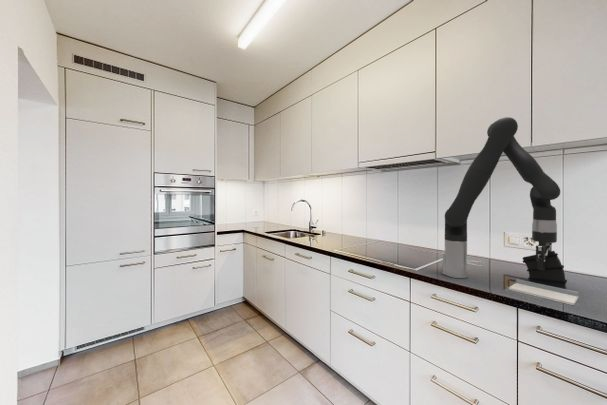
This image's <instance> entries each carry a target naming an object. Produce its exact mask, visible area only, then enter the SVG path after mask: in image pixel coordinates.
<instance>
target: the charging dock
mask: <svg viewBox="0 0 607 405" xmlns="http://www.w3.org/2000/svg"><path fill="white" fill-rule="evenodd" d="M508 290H509V291H512V292H515V293H516V292H517V293H521V294H526V295H528V296H529V295H530V296H533V297H534V296H535V297H538V298H541V299H546V300H549V301H554V302H558V303H563V304H567V305H570V306H575V304H576V303H577V301H578V300H579V295H580V294H579V292H580V291H575V290H571V289H566V288H565V289H562V288H557V287H552V286H548V285H543V284H538V283H533V282H529V280H528V281H527V280H523V279H519V278H516V279H515V283H514V284H512V285H510V286H509V287H508Z"/></svg>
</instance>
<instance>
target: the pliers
mask: <svg viewBox="0 0 607 405" xmlns="http://www.w3.org/2000/svg"><path fill="white" fill-rule="evenodd" d="M475 263H480V264H486V261H480V260H479V261H478V260H467V265H469V266H474V267H475V266H476V267H483V265H480V264H475Z"/></svg>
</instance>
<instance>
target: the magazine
mask: <svg viewBox="0 0 607 405" xmlns="http://www.w3.org/2000/svg"><path fill="white" fill-rule="evenodd" d="M558 255H559V254H558V253H557V252H555V250H552V251H550V252H549V253H548V257H546V261H545V270H544V271H543V270H538V269H537V267H538V261H537V260H536V259H535V258H536V254H532V255H528V256H527V255H526V256H523V257H522V263H523V264H525V266H526V268H527V269H526V272H528V276H529V277H527V279H528V282H533V283H538V284H543V285H548V286H552V287H557V288H562V289H566V287H567V286H566V284H567V283H568V279H566V274H565V270H564V268H565V266H564V264H562V262H561V260H560V258H559V256H558ZM540 258H542V256H540Z"/></svg>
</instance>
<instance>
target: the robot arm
mask: <svg viewBox="0 0 607 405" xmlns="http://www.w3.org/2000/svg"><path fill="white" fill-rule="evenodd" d="M518 128H519V125H518V122H517V120H516V119H515V118H513V117H509V116H507V117H503V118H499V119H497V120H496V121H494V122H493V123H491V124H490V125H489V126H488V128H487V132H486V133H487V134H486V135H487V137H488V138H487V139H486V141H485V144H484V146H483V148H482V149H481V150H480V152H479V153H478V154H477V156H476V157H475V158H474V159H473V161H472V162H471V164H470V165H469V167H468V168H467V171H466V173H465V175H464V177H463V179H462V182H461V184H460V187H459V190H458V192H457V194H456V197H455V199H454V200H453V201H452V203H451V204H450V206H449V207H448V208H447V210H446V211H445V213H444V254H442V274H443V275H444V276H448V277H450V278H454V279H466V278H468V264H467V261H468V218H469V216H470V213H471V211H472V208H473V206H474V204H475V202H476V200H477V199H478V197H480V194H481V193H482V192H483V191H484V189H485V187H486V186H487V184H488V182H489V180H490V179H491V177H492V175H493V173H494V171H495V169H496V167H497V165H498V163H499V161H500V159H501V157H502V154H504V155H505V156H506V157H507V158H508V160H509V161H510V162H511V164H512V165H513V166H514V168H515V169H516V171H517V172H518V174H519V175H520V177H521V178H522V180H523V181H524V182H526V183H528V184H530V185H531V186H532V187H531V188H530V191H529V198H530V203H531V207H532V224H531V226H532V227H531V228H532V229H531V231H532V232H531V239H532V241H533V242H538V245H536V246H535V255H536V258H535V259H536V260H537V261H538V267H537V269H538V270H543V271H544V270H545V261H546V257H548V253H549V252H550V251H553V250H552V247H553V246H552V245H553V244H555V243H557V240H558V237H557V236H558V234H557V233H558V224H557V209H556V207H555V206H553V205H552V202H551V201H553V200H556V199H558V198H559V197H560V195H561V188H560V187H559V184H558V183H556V181H555V180H553V178H552V177H550V176H549V175H548V174H547V173H545V171H544V170H543V168H542V167H541V166H540V164H539V163H538V161H537V160H536V159H535V158H534V157H533V155H531V154H530V152H528V151H527V150H525V149H524V148H523V147H522V145H521V144H520V143H519V141H517V139H516V137H515V135H516V134H517V131H518ZM540 256H542V258H540Z"/></svg>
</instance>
